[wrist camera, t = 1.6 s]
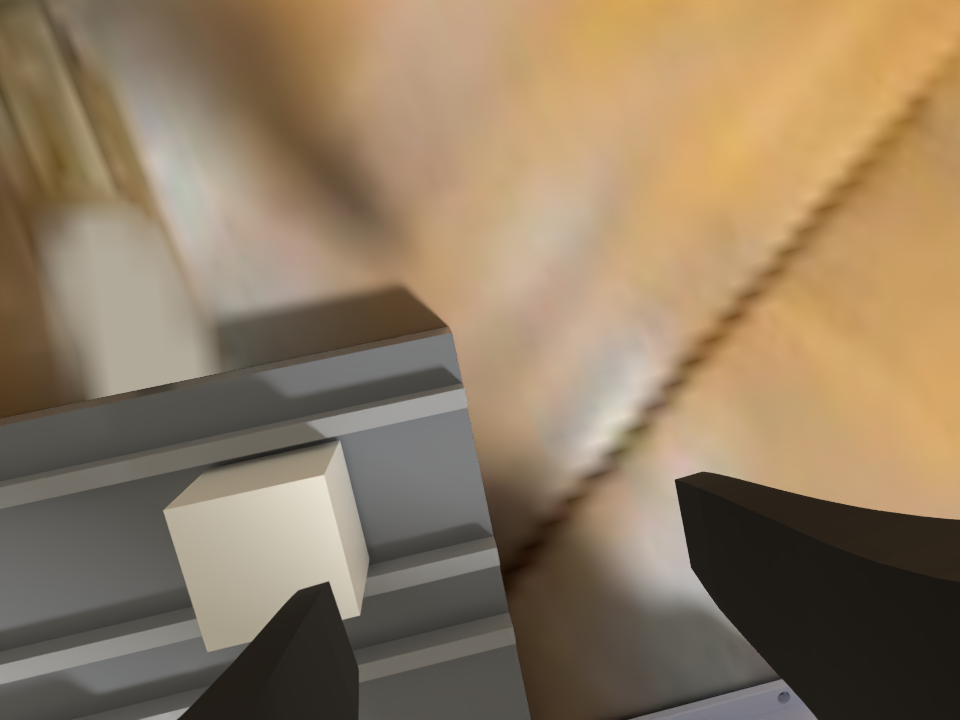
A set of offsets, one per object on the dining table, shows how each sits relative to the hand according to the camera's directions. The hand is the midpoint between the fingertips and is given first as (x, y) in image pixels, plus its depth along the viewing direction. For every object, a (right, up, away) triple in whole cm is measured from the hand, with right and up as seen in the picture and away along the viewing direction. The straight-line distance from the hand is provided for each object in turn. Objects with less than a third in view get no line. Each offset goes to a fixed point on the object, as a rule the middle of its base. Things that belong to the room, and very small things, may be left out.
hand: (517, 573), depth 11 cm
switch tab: (-7, -1, +6) cm, 9 cm away
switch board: (-10, -5, +9) cm, 14 cm away
